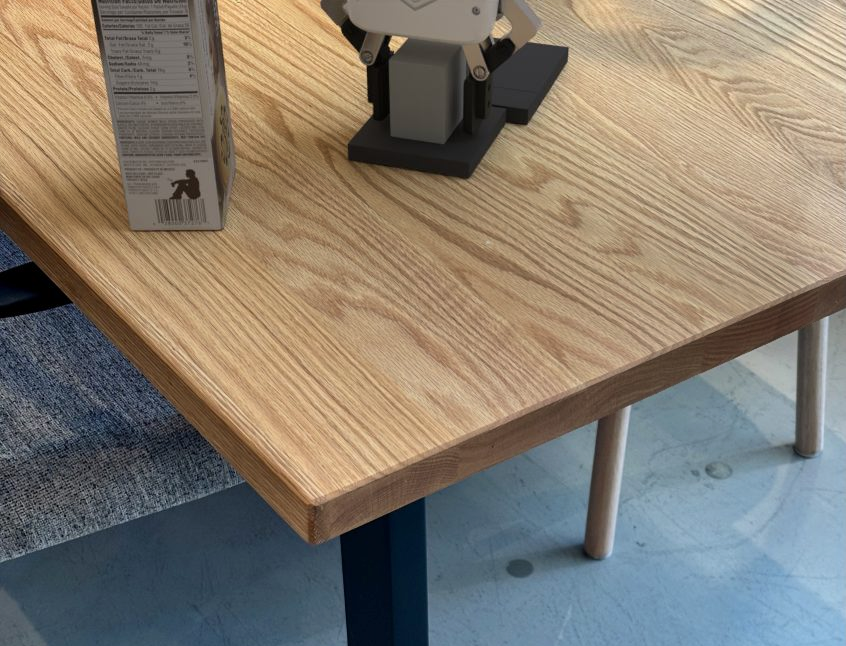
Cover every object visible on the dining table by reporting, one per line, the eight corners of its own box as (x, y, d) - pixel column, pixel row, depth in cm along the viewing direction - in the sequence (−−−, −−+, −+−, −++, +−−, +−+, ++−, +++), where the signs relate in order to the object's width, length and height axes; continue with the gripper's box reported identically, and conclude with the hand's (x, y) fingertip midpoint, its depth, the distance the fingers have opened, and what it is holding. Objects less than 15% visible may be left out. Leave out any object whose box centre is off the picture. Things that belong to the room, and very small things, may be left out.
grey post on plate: (515, 109, 100) (519, 19, 95) (469, 178, 91) (470, 84, 87) (402, 93, 102) (401, 4, 97) (347, 159, 94) (343, 66, 89)
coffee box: (147, 167, 93) (109, -72, 82) (238, 166, 93) (212, -73, 82) (126, 232, 86) (82, -19, 76) (225, 231, 86) (195, -20, 76)
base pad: (567, 61, 106) (568, 46, 105) (527, 124, 98) (528, 109, 97) (426, 43, 109) (426, 28, 108) (375, 102, 101) (374, 87, 100)
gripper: (277, -148, 82) (297, 125, 94) (546, -122, 78) (531, 160, 90) (323, -180, 88) (336, 83, 99) (577, -157, 83) (559, 114, 95)
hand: (429, 117), depth 95 cm, fingers open, 6 cm apart
